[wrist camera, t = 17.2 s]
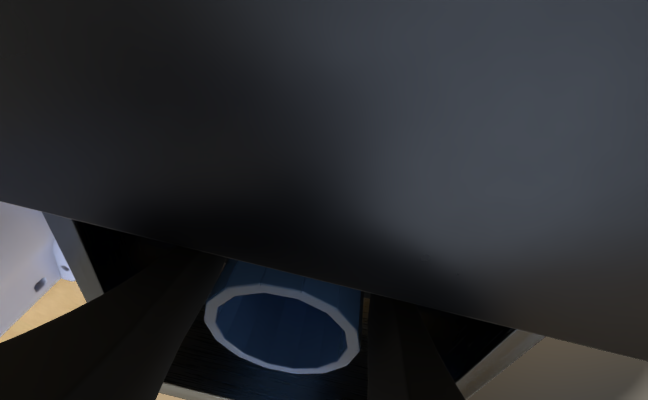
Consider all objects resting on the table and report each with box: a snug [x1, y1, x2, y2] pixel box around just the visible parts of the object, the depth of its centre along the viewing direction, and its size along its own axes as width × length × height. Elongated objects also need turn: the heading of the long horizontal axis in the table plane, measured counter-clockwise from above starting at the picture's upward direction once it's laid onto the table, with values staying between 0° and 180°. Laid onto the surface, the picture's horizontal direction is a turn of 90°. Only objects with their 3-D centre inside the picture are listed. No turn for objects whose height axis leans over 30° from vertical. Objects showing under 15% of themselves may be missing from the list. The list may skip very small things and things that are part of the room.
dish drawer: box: [42, 212, 546, 400], centre depth 13 cm, size 19×13×6 cm
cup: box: [204, 258, 364, 374], centre depth 11 cm, size 5×5×5 cm
